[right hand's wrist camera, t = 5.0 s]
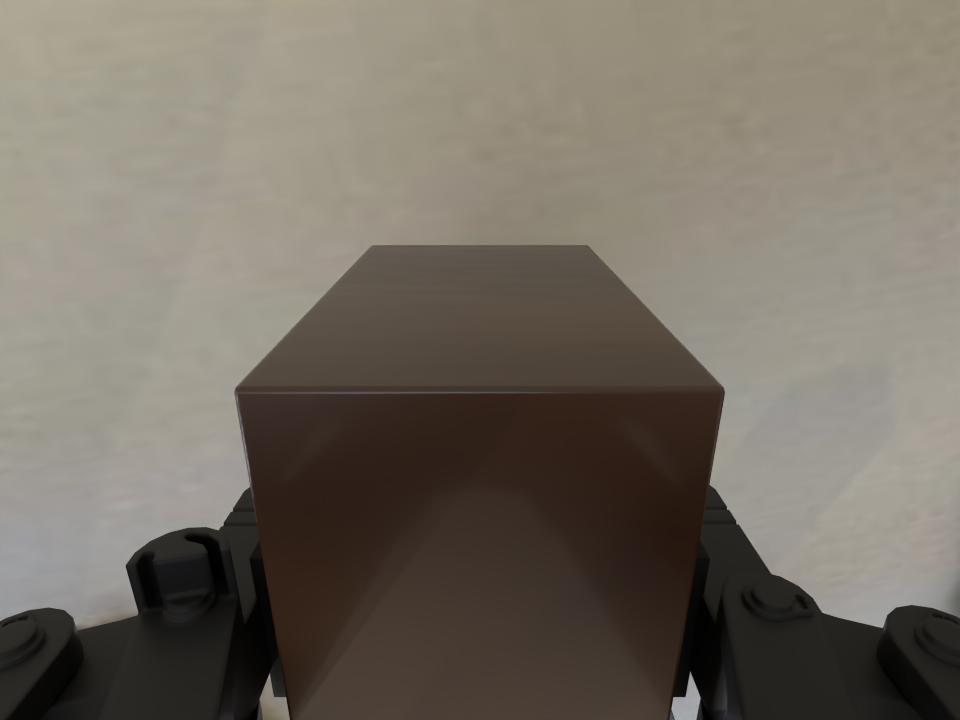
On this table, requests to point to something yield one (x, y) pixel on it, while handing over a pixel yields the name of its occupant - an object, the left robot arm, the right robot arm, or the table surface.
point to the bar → (479, 489)
